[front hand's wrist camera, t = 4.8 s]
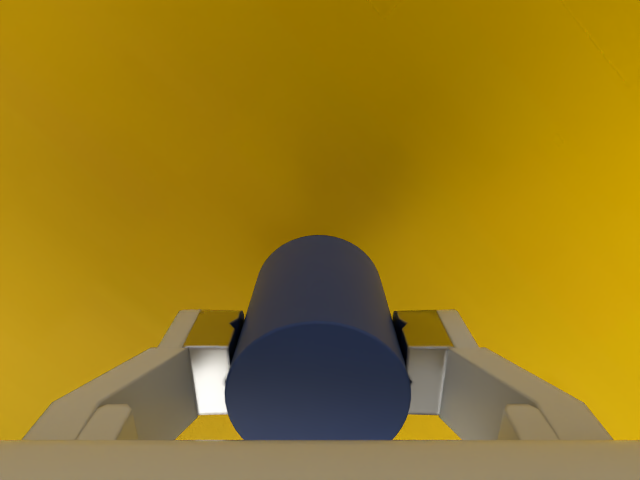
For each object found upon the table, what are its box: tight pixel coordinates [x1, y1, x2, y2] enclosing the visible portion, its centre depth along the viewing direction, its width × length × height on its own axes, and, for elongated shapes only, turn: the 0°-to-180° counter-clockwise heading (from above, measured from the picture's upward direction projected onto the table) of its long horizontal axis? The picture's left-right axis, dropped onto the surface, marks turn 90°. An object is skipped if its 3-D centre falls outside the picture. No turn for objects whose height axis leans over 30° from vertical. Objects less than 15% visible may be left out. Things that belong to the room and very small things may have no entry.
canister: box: [224, 235, 411, 440], centre depth 10 cm, size 4×4×4 cm
